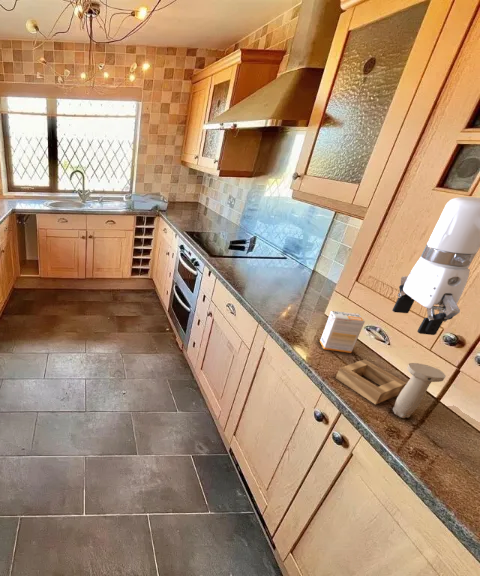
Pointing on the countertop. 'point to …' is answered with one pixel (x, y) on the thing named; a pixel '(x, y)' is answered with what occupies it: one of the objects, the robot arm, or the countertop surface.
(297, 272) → the countertop surface
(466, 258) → the robot arm
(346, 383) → the socket block
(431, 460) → the countertop surface
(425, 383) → the handle
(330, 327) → the supplement box
